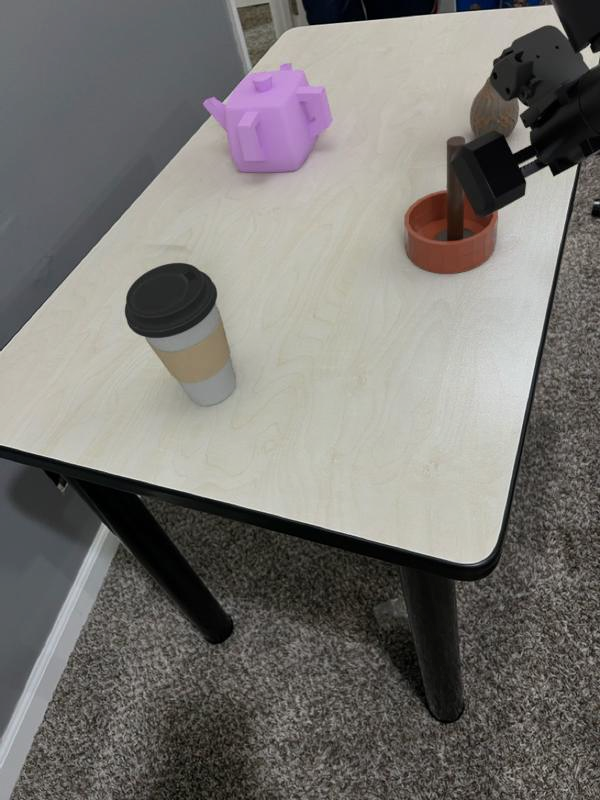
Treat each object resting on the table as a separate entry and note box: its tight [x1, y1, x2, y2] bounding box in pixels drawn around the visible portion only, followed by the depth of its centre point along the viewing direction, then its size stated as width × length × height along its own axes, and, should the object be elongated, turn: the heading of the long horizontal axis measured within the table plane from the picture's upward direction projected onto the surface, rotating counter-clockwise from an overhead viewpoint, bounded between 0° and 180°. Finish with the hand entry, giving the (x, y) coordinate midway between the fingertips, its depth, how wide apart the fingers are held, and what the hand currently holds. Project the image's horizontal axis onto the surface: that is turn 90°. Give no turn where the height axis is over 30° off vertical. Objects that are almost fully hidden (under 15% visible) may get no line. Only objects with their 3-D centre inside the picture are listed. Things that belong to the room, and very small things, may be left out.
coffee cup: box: [124, 262, 237, 407], centre depth 64 cm, size 9×9×15 cm
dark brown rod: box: [435, 135, 475, 242], centre depth 71 cm, size 5×5×14 cm
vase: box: [469, 76, 520, 139], centre depth 87 cm, size 7×7×9 cm
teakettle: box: [202, 62, 334, 173], centre depth 96 cm, size 17×17×12 cm
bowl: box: [403, 189, 499, 275], centre depth 75 cm, size 11×11×4 cm
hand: (502, 175), depth 61 cm, fingers open, 9 cm apart
